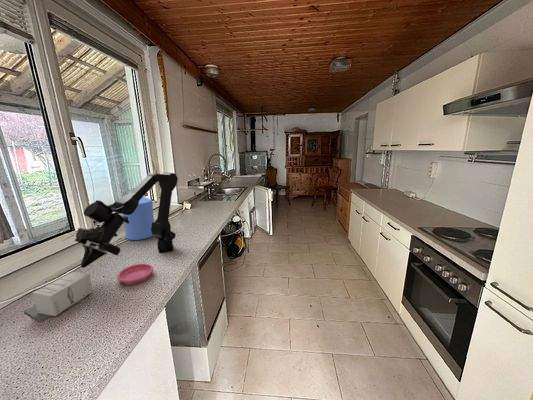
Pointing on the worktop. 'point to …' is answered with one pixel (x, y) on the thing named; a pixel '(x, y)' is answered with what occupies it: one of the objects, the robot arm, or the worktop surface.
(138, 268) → the saucer
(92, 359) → the worktop surface
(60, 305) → the supplement box
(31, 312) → the dark rubber mat
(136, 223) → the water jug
